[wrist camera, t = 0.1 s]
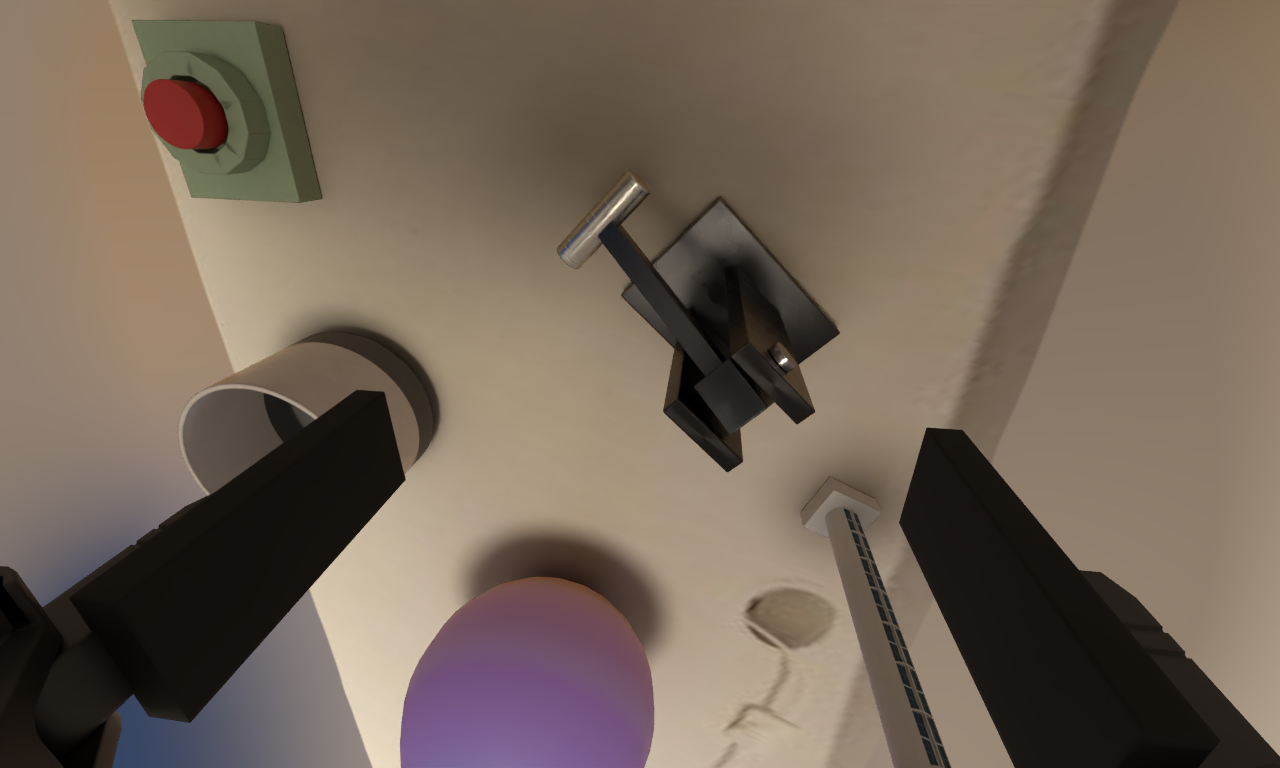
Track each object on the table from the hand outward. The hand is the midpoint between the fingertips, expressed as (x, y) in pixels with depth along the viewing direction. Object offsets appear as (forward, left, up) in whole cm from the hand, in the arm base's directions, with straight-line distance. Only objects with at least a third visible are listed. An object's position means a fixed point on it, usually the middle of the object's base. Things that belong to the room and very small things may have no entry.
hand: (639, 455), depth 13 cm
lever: (+1, 0, -15) cm, 15 cm away
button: (-21, -22, -21) cm, 37 cm away
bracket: (+5, +1, -24) cm, 25 cm away
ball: (+26, -26, -25) cm, 44 cm away
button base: (-21, -22, -24) cm, 39 cm away
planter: (-1, -29, -25) cm, 38 cm away
